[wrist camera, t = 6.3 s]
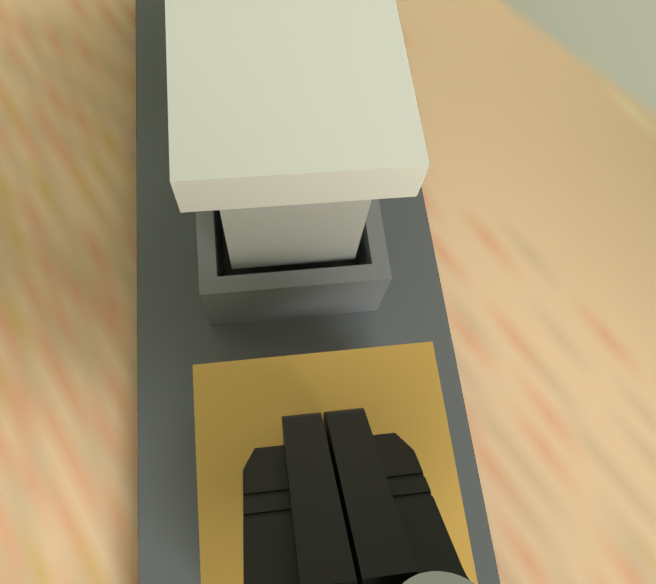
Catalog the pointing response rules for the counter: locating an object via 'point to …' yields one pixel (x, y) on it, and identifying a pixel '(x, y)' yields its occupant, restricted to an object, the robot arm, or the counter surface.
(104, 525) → the counter surface
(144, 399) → the keypad
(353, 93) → the middle key
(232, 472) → the amber key
